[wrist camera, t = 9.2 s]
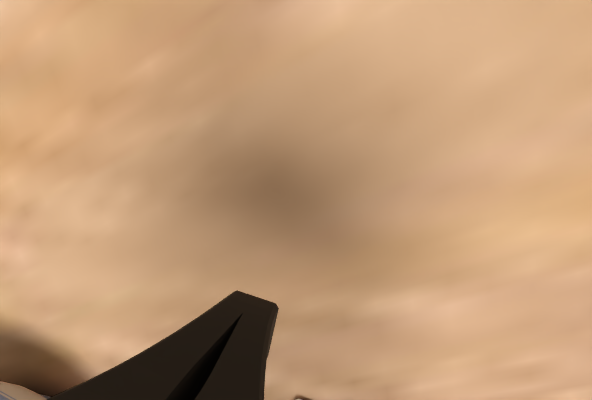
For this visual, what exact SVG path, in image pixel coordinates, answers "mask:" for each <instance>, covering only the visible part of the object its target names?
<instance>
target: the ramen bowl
mask: <svg viewBox="0 0 592 400" xmlns="http://www.w3.org/2000/svg"><path fill="white" fill-rule="evenodd" d="M49 398H51V397H50V396H46V395H40V394H37V393H35V392H34V391H31V390H29V389H27V388H25V387H23V386H19V385H15V384H11V383H6V382H2V381H0V400H47V399H49Z"/></svg>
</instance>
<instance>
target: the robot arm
mask: <svg viewBox="0 0 592 400" xmlns="http://www.w3.org/2000/svg"><path fill="white" fill-rule="evenodd" d="M278 309H279V308H278V306H277V305H276V303H273V302H270V301H267V300H264V299H261V298H258V297H255V296H252V295H249V294H246V293H243V292H240V291H235V292H233V293H232V294H230V295H229V296H227V297H226V298H225V299H223V300H222V301H221V302H219V303H218V304H216V305H215V306H214V307H212V308H211V309H209V310H208V311H206V312H205V313H203V314H202V315H201V316H199V317H198V318H196V319H195V320H193V321H191V322H190V323H188V324H187V325H185V326H184V327H182V328H181V329H179V330H178V331H176V332H175V333H173V334H171V335H170V336H168V337H166V338H165V339H163V340H161V341H160V342H158V343H156V344H155V345H153V346H151V347H150V348H148V349H146V350H144V351H143V352H141V353H139V354H138V355H136V356H134V357H132V358H130V359H129V360H127V361H125V362H123V363H121V364H119V365H117V366H115V367H114V368H112V369H110V370H108V371H106V372H104V373H102V374H100V375H98V376H96V377H94V378H92V379H90V380H88V381H86V382H84V383H81V384H79V385H77V386H75V387H73V388H71V389H68V390H66V391H64V392H62V393H60V394H58V395H55V396H53V397H51V398H49V399H47V400H264V383H265V369H266V360H267V357H268V353H269V349H270V344H271V340H272V336H273V331H274V327H275V322H276V318H277V313H278ZM296 400H302V399H296Z"/></svg>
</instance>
